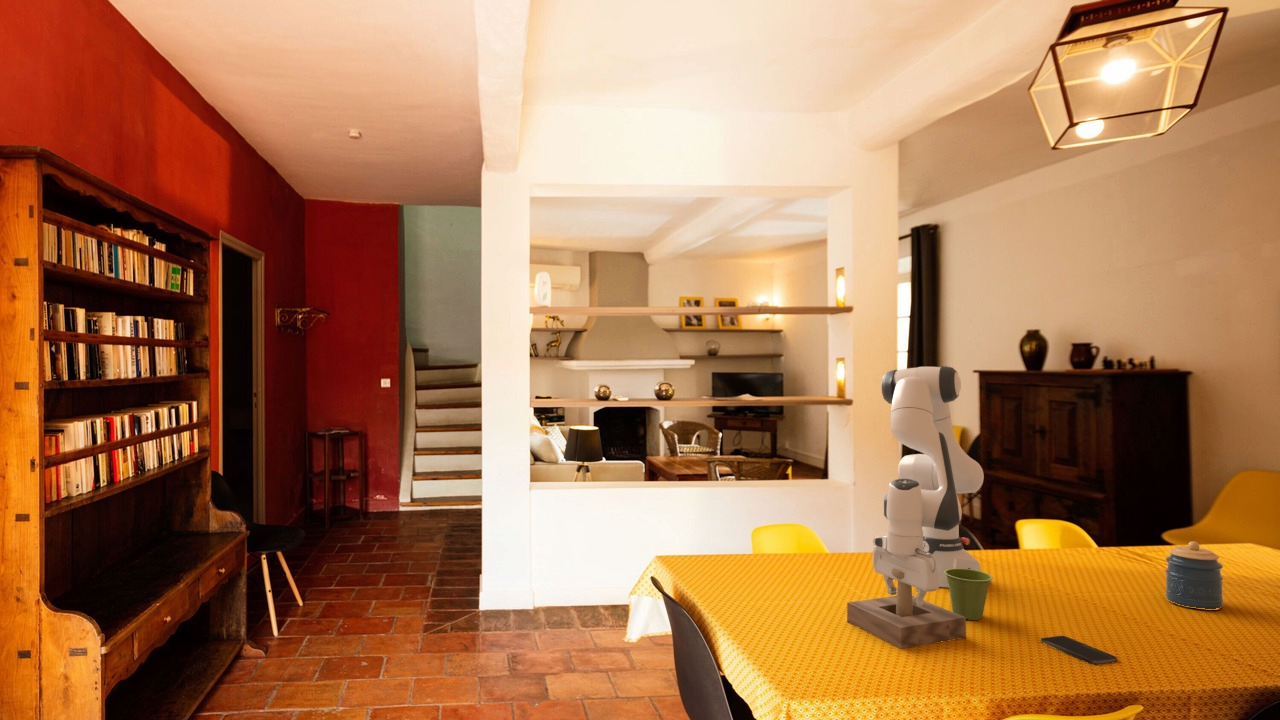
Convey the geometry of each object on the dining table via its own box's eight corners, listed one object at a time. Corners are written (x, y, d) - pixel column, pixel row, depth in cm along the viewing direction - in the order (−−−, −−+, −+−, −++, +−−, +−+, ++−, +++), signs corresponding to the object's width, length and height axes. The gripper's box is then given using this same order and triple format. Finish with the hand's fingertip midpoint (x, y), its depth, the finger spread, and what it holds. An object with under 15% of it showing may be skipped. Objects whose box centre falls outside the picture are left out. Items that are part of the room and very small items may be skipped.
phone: (1093, 662, 165) (1038, 638, 179) (1093, 667, 165) (1038, 643, 179) (1120, 658, 167) (1063, 635, 182) (1120, 663, 167) (1063, 639, 182)
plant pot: (972, 626, 190) (972, 582, 190) (934, 613, 200) (934, 571, 200) (1002, 619, 195) (1002, 576, 195) (964, 606, 205) (964, 566, 206)
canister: (1225, 603, 209) (1225, 541, 209) (1220, 615, 200) (1220, 549, 200) (1169, 594, 218) (1169, 534, 218) (1162, 604, 208) (1161, 541, 209)
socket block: (908, 612, 200) (908, 594, 200) (965, 637, 182) (965, 617, 182) (847, 621, 193) (847, 602, 193) (900, 649, 174) (900, 627, 174)
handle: (921, 631, 186) (921, 571, 186) (899, 633, 184) (899, 573, 184) (909, 625, 190) (909, 566, 191) (887, 627, 189) (887, 568, 189)
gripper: (945, 553, 179) (945, 610, 179) (887, 535, 198) (887, 587, 198) (924, 555, 177) (924, 613, 176) (868, 537, 196) (868, 589, 195)
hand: (904, 599), depth 187 cm, fingers open, 8 cm apart
